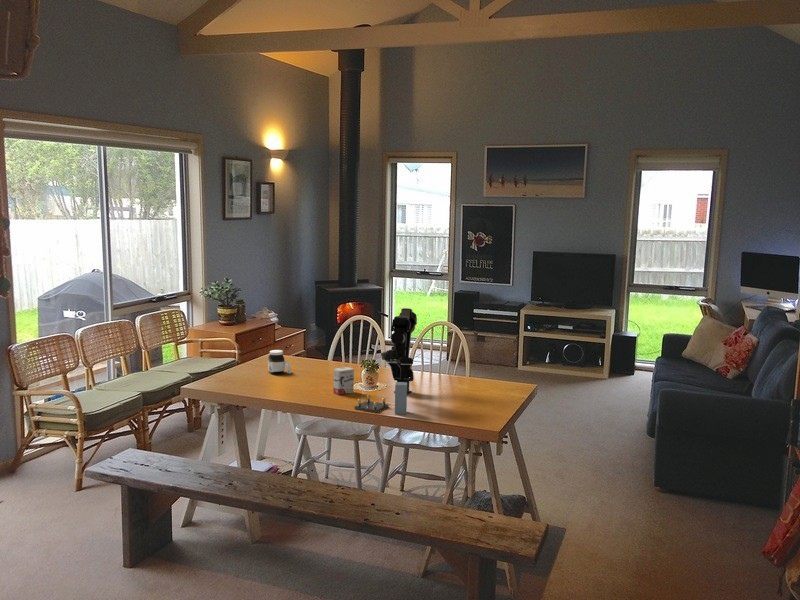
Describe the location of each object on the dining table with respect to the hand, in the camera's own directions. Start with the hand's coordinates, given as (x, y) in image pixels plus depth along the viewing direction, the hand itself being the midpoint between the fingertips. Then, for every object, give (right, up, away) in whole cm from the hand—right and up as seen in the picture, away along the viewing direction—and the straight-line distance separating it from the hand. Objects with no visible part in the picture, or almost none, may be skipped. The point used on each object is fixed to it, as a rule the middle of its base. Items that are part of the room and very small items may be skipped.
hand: (398, 379), depth 315 cm
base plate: (-12, -12, -7) cm, 18 cm away
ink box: (-26, -9, +16) cm, 32 cm away
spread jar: (-62, -3, +52) cm, 81 cm away
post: (+1, -13, -13) cm, 19 cm away
